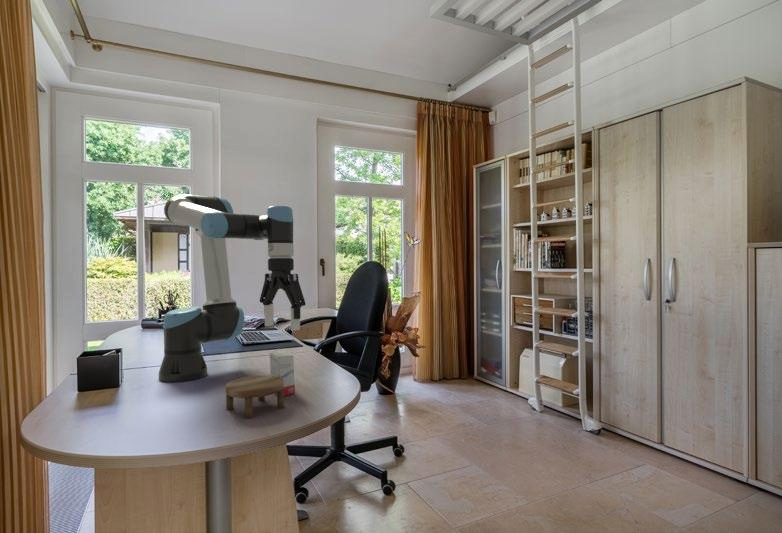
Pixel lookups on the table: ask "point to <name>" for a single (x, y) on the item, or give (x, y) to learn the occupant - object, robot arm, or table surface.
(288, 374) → the ink box
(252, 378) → the footstool
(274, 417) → the table surface
